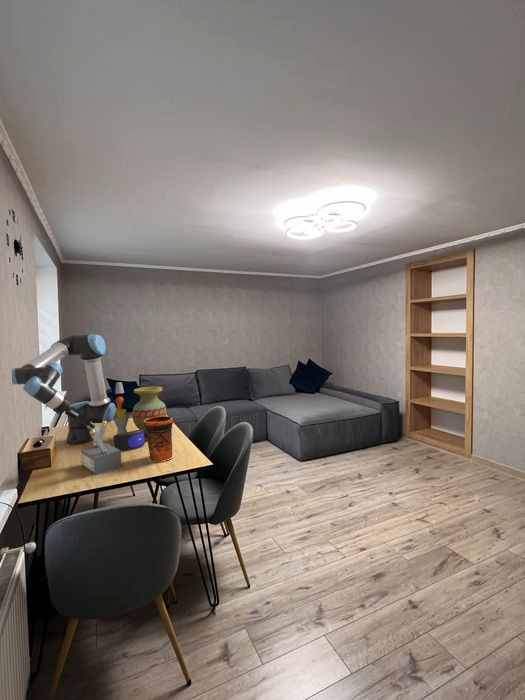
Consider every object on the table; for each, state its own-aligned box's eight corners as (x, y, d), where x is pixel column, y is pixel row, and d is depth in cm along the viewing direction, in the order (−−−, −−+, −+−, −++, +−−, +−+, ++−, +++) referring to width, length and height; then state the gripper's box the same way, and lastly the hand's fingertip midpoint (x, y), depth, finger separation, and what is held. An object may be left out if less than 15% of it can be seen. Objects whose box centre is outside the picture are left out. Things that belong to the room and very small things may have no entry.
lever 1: (92, 445, 170) (101, 419, 173) (97, 446, 171) (106, 420, 174) (94, 446, 167) (104, 420, 170) (99, 447, 169) (108, 421, 172)
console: (80, 466, 167) (79, 450, 166) (107, 458, 176) (106, 443, 175) (94, 475, 155) (92, 457, 154) (121, 466, 164) (120, 450, 163)
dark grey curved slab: (115, 453, 183) (114, 436, 182) (113, 451, 186) (112, 434, 186) (146, 446, 192) (145, 430, 192) (144, 444, 196) (143, 428, 195)
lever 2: (101, 452, 161) (87, 431, 157) (106, 449, 163) (92, 428, 158) (104, 454, 159) (90, 432, 154) (108, 451, 160) (95, 429, 156)
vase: (132, 436, 214) (129, 388, 212) (165, 431, 222) (163, 385, 220) (134, 445, 196) (131, 392, 194) (170, 439, 203) (167, 389, 202)
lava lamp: (119, 444, 198) (115, 384, 196) (111, 442, 203) (107, 383, 201) (133, 440, 205) (130, 381, 203) (125, 437, 211) (121, 381, 209)
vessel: (144, 465, 164) (142, 423, 164) (146, 455, 178) (144, 417, 178) (175, 461, 168) (173, 420, 168) (175, 452, 182) (173, 414, 181)
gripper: (47, 408, 160) (88, 435, 173) (56, 411, 151) (98, 439, 163) (59, 394, 163) (98, 422, 176) (68, 397, 154) (108, 426, 167)
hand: (98, 430), depth 170 cm, fingers closed
